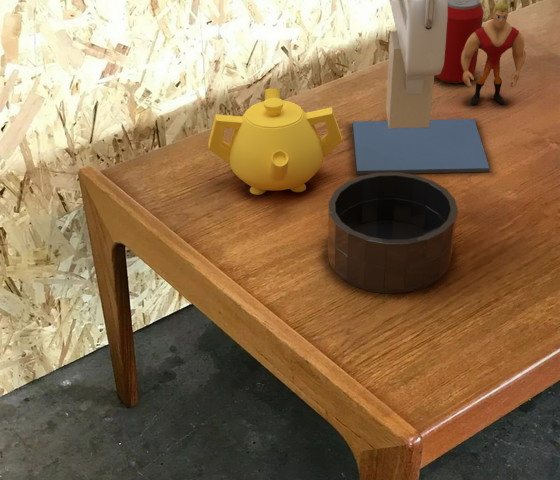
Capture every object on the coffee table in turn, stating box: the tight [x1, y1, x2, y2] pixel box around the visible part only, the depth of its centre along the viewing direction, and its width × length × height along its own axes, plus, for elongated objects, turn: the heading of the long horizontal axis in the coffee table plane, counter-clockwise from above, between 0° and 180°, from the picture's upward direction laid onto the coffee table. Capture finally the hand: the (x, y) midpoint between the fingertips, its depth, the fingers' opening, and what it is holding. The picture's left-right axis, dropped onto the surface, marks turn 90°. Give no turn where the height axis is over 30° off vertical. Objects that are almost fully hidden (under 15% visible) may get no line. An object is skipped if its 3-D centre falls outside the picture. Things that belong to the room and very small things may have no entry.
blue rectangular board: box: [352, 118, 490, 175], centre depth 113 cm, size 18×14×1 cm
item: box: [385, 30, 435, 129], centre depth 87 cm, size 4×4×9 cm
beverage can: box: [435, 0, 485, 84], centre depth 125 cm, size 7×7×12 cm
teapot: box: [207, 87, 343, 196], centre depth 105 cm, size 20×18×11 cm
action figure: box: [461, 1, 526, 106], centre depth 117 cm, size 10×4×15 cm, turn 87°
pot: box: [327, 172, 459, 295], centre depth 93 cm, size 15×15×7 cm
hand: (410, 79), depth 87 cm, fingers closed on item, 4 cm apart
